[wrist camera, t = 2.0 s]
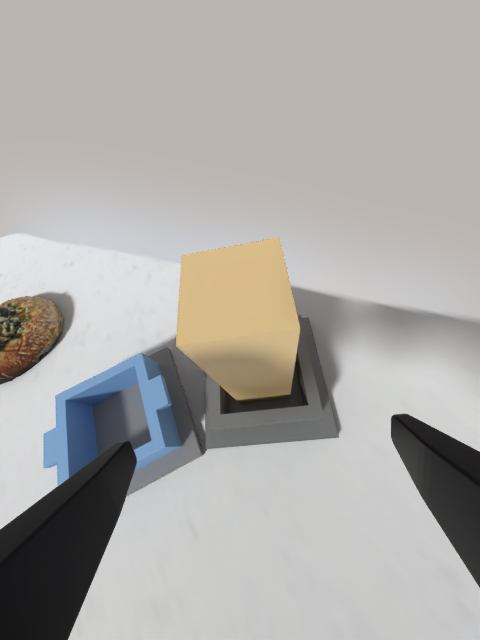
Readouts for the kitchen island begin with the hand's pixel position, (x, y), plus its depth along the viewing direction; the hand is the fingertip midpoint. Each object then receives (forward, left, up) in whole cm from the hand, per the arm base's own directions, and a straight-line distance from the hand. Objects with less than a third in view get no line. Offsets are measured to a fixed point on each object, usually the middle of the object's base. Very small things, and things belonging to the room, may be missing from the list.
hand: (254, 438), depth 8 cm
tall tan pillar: (+4, +3, -11) cm, 12 cm away
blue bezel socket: (-5, +11, -11) cm, 17 cm away
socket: (+4, +3, -11) cm, 12 cm away
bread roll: (-6, +30, -12) cm, 33 cm away
